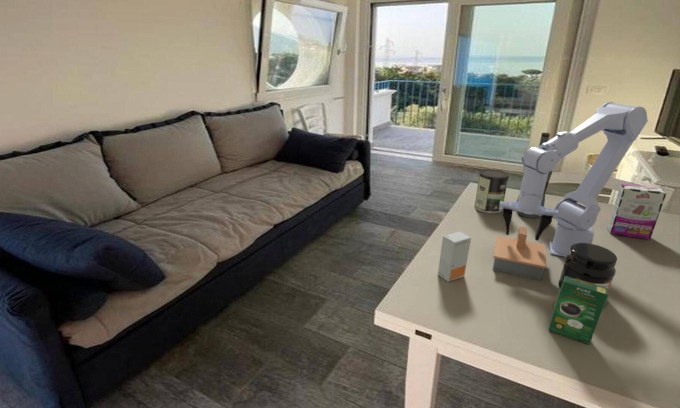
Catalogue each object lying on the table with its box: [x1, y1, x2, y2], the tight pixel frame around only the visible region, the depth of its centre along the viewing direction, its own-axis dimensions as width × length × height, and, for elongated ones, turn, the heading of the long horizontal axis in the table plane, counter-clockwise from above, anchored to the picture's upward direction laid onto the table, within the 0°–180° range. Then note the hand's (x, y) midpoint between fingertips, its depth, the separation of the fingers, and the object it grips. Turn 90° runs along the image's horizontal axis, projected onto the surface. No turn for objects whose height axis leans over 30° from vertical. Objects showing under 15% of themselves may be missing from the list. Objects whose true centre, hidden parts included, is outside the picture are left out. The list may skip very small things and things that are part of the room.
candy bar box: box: [607, 183, 667, 241], centre depth 121 cm, size 11×5×16 cm, turn 68°
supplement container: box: [557, 243, 618, 292], centre depth 92 cm, size 10×10×12 cm
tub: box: [492, 258, 545, 281], centre depth 106 cm, size 12×12×4 cm
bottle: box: [516, 132, 553, 219], centre depth 133 cm, size 9×9×30 cm
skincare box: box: [437, 231, 472, 283], centre depth 99 cm, size 6×4×12 cm
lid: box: [492, 226, 548, 270], centre depth 104 cm, size 13×13×6 cm
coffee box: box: [548, 276, 609, 345], centre depth 78 cm, size 8×3×13 cm, turn 57°
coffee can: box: [473, 168, 510, 214], centre depth 141 cm, size 10×10×14 cm
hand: (521, 236), depth 107 cm, fingers open, 7 cm apart
